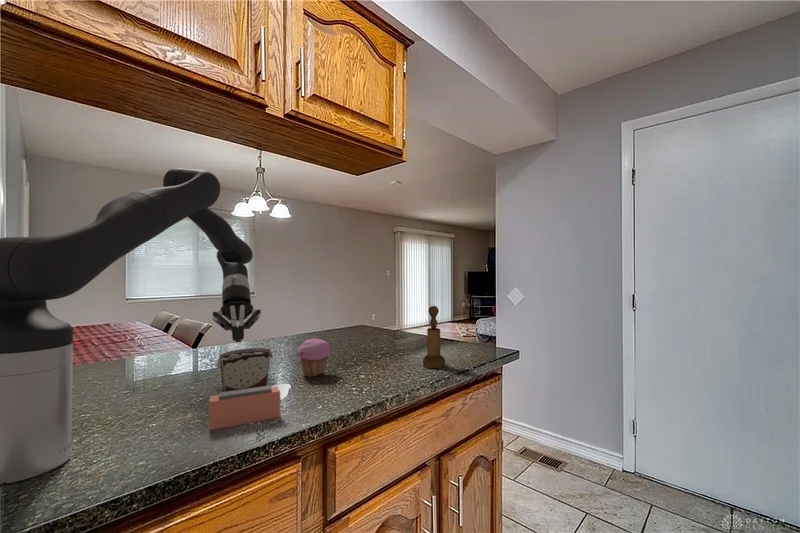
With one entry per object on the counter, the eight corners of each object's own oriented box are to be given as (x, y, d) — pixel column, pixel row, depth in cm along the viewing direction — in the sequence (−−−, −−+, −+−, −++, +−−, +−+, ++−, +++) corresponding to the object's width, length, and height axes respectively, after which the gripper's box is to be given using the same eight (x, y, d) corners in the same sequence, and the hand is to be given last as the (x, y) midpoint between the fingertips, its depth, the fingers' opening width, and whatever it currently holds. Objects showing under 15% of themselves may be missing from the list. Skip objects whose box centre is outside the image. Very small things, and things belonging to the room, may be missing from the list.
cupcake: (313, 369, 102) (313, 335, 102) (337, 372, 98) (337, 337, 98) (291, 377, 94) (291, 340, 94) (315, 381, 90) (315, 342, 91)
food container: (259, 385, 87) (259, 345, 87) (272, 390, 83) (272, 348, 83) (206, 399, 78) (207, 354, 78) (218, 406, 74) (219, 358, 74)
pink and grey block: (209, 430, 62) (209, 398, 62) (209, 423, 65) (209, 392, 65) (279, 417, 67) (280, 388, 68) (277, 411, 70) (277, 383, 71)
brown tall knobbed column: (438, 370, 100) (438, 307, 101) (419, 367, 104) (418, 306, 104) (448, 365, 106) (447, 305, 106) (429, 362, 109) (429, 304, 110)
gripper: (211, 284, 99) (209, 334, 88) (260, 283, 105) (265, 329, 94) (211, 301, 103) (210, 351, 92) (259, 299, 109) (263, 346, 98)
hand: (238, 340), depth 93 cm, fingers closed
